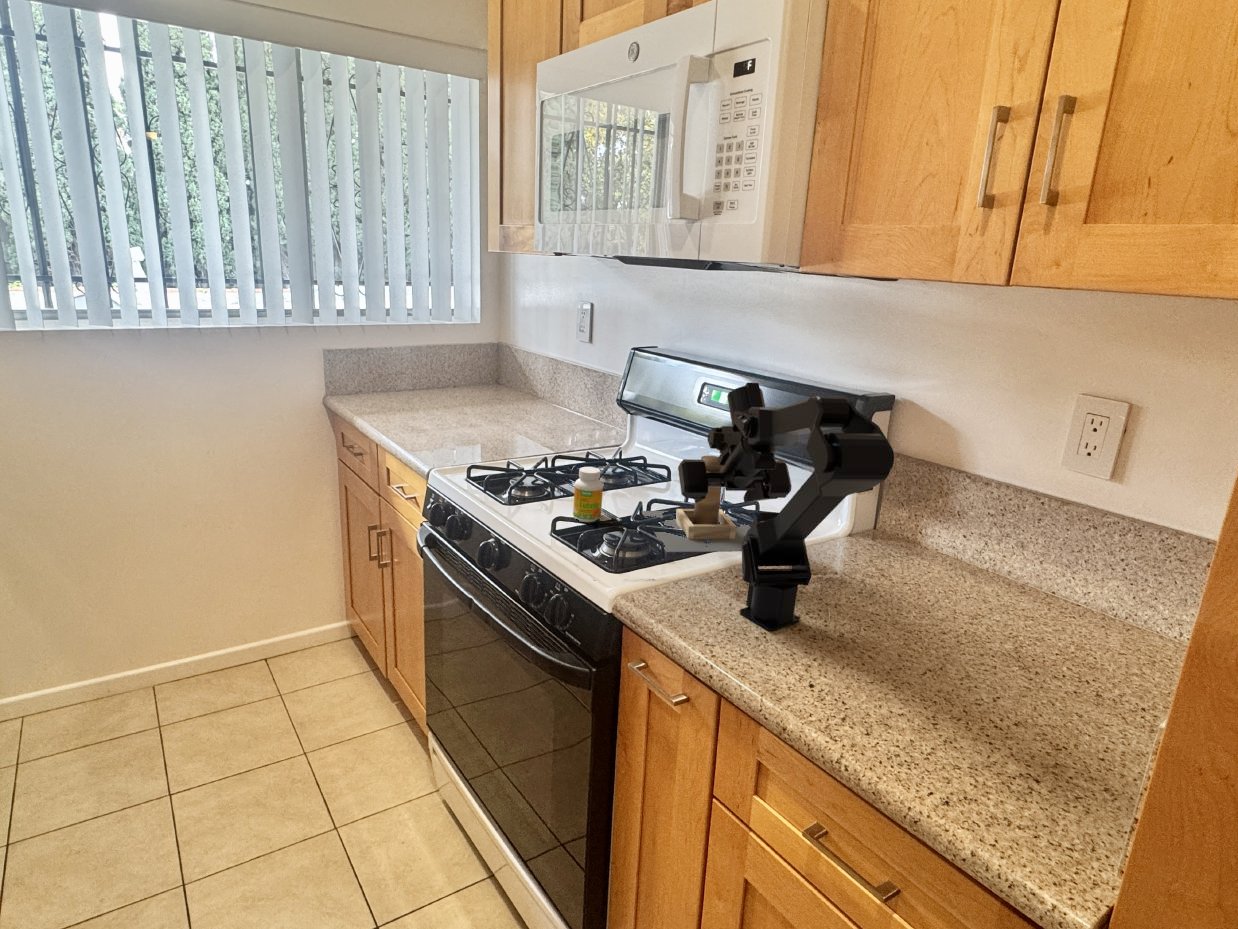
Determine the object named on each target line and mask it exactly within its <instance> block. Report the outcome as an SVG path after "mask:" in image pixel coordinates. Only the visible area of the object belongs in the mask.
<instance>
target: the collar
mask: <svg viewBox="0 0 1238 929" xmlns="http://www.w3.org/2000/svg"><path fill="white" fill-rule="evenodd" d="M675 511H676V519H675V521H676V523H677V524H678V526H679V527H680V529H682V530H683V531H684V532H685V534H686V537H687V539H708V538H709V539H735V534H736V525H735V524H734V523H733V522H732V521H731V519H730V518H729V517H728V516H727V515H726V514H725V513H724V512H723V511H724V510H723V509H722V508H719V515H718V521H719V522H720V524H692V523H693V517H694V508H676V509H675Z"/></svg>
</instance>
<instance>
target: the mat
mask: <svg viewBox="0 0 1238 929" xmlns="http://www.w3.org/2000/svg"><path fill="white" fill-rule="evenodd" d="M668 511H669V510H641V514H643V516H644V517H645V516H650V515H651V516H654V517H655V516H656V517H660V518H663V515H662V514H663V513H664V512H668ZM692 524H693V523H692ZM664 525H666V526H672V527H674V528H677V529H680V527H679V526H678V524H677V523H676V521H675V519H673V520H665V522H664ZM750 528H751V527H750V526H749V525H745V524H744V525H743V524H741V525H740V527H738V528H736V534H735V539H712V540H711V541H708V542H711V543H709V544H708V542H707V544H706V543H704V542H705V541H702V542H701V541H700V540H699V539H687V538H686V537H685V538H684V537H682V536H678V535H674V534H671V533H666V532H654V531H653V533H654V535H655V536H656V538H657V539H659V540H660V541H662V542H663V543H664V545H665V547H664V548H663V549H664V551H665V553H702V552H705V553H706V552H707V553H710V552H711V553H713V552H715V553H717V552H718V553H719V552H742V548H741V546H742V541H743V538H744V536H745V535H746V533H747V531H748V530H749V529H750ZM659 540H658V541H659ZM660 541H659V542H660ZM706 546H707V547H706Z"/></svg>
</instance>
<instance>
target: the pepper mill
mask: <svg viewBox="0 0 1238 929" xmlns="http://www.w3.org/2000/svg"><path fill="white" fill-rule="evenodd" d="M718 457H719V456H717V455H703V456H701V458H700V460H703V461H704V462H705V466H706V472H714V473H720V470H721V468H722V465H719V463H718ZM715 483H716V482H715ZM722 488H723V487H708V493H707V495H706V496H705V499H703V500H701V501H700V502H697V503H695V502H694V508H693V509H694V517H693V524H718V515H719V509H720V506H721V505H720V504H721V497H722V495H721V494H722Z"/></svg>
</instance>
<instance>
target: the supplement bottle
mask: <svg viewBox="0 0 1238 929" xmlns="http://www.w3.org/2000/svg"><path fill="white" fill-rule="evenodd" d="M578 477H579V478H578V479H576V480H575V482H574V493H573V511H572V517H573V518H574V520H576V519H578V520H579V521H578V520H577V521H578V522H582V523H594V522H597V521H598V520H599V519H600V518H601V517H602V505H603V491H604V483H603V481H602V480H600V477H601V470H600V469H599V468H598V467H595V466H583V467H580V468H579V470H578Z"/></svg>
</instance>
